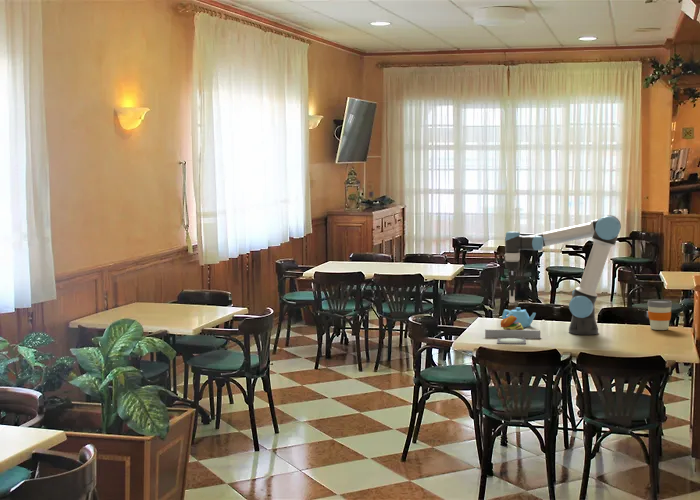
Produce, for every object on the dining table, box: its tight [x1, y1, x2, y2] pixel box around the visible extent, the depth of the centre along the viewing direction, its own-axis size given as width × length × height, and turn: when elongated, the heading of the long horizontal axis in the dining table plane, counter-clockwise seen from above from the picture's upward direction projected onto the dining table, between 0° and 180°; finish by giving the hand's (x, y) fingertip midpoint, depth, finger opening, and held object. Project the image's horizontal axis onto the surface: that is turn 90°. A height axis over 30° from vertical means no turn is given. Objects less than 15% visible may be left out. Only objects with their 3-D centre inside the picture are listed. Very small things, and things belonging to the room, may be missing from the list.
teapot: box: [501, 306, 537, 328], centre depth 463 cm, size 15×15×11 cm
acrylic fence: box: [484, 328, 541, 339], centre depth 429 cm, size 28×1×4 cm, turn 79°
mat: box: [496, 338, 527, 345], centre depth 418 cm, size 14×14×1 cm
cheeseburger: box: [500, 316, 524, 330], centre depth 440 cm, size 10×11×10 cm
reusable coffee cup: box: [646, 299, 673, 331], centre depth 448 cm, size 13×13×15 cm
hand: (512, 300), depth 440 cm, fingers open, 13 cm apart
